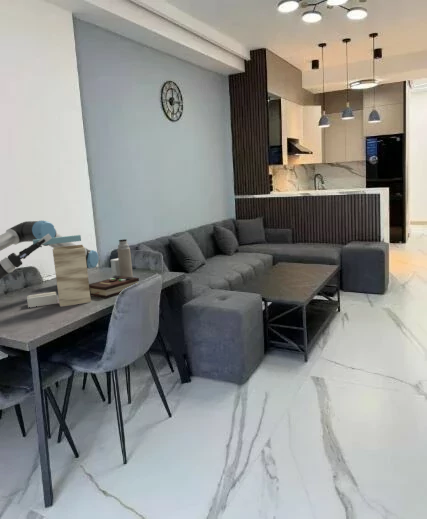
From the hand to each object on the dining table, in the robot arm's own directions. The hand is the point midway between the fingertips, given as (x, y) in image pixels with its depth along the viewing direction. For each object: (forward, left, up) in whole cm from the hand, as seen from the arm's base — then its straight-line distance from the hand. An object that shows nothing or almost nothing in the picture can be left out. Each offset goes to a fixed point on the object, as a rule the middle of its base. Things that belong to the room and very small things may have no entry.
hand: (50, 235), depth 233 cm
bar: (0, +3, -4) cm, 5 cm away
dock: (-8, -8, -38) cm, 39 cm away
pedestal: (0, +8, -38) cm, 39 cm away
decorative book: (-12, +32, -38) cm, 51 cm away
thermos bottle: (-34, +43, -38) cm, 67 cm away
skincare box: (-43, +40, -38) cm, 70 cm away
